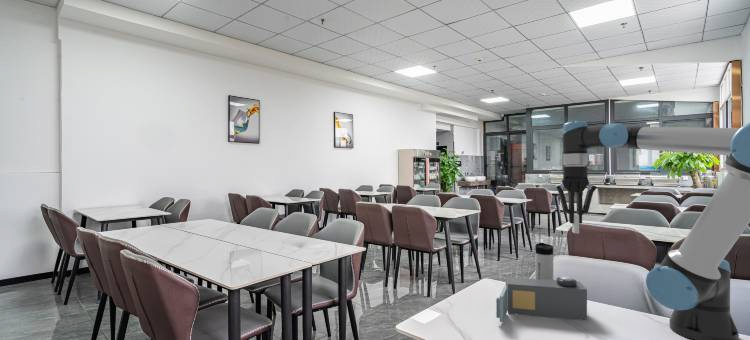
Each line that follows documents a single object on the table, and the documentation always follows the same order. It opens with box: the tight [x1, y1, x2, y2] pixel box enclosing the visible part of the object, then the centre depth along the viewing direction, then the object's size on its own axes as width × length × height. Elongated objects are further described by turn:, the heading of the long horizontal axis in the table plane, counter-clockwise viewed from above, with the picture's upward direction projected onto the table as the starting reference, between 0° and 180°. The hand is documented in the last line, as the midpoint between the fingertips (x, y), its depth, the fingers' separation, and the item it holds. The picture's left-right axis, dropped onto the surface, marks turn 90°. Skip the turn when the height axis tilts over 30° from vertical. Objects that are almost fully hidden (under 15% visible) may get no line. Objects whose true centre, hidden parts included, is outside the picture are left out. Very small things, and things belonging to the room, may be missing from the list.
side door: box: [495, 286, 508, 323], centre depth 118 cm, size 10×2×8 cm, turn 153°
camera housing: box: [505, 276, 588, 321], centre depth 123 cm, size 24×8×12 cm, turn 75°
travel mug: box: [534, 242, 554, 280], centre depth 137 cm, size 6×7×20 cm
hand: (575, 232), depth 127 cm, fingers closed
